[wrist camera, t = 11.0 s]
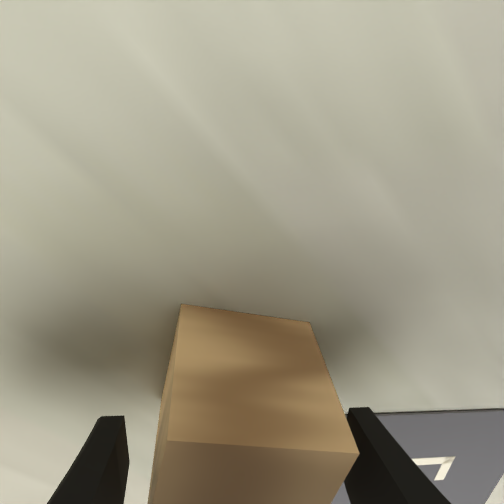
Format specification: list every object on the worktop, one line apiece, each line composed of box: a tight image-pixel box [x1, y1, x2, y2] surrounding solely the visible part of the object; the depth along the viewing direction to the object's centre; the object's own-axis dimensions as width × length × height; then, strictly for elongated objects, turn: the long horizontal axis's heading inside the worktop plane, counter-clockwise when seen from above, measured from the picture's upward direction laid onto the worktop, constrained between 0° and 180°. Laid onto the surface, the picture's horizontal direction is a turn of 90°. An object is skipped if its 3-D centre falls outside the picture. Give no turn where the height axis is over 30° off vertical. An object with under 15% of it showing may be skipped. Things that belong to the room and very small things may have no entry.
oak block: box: [148, 304, 360, 504], centre depth 12 cm, size 4×4×5 cm
